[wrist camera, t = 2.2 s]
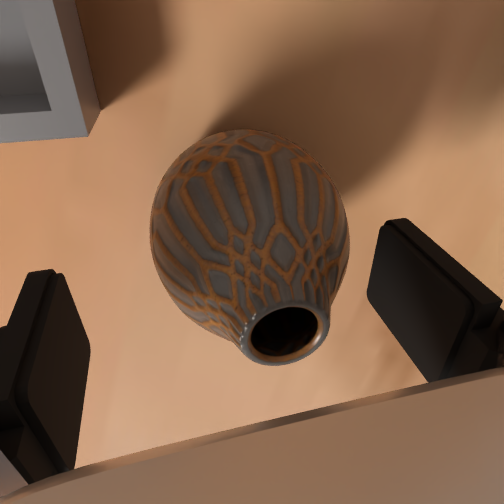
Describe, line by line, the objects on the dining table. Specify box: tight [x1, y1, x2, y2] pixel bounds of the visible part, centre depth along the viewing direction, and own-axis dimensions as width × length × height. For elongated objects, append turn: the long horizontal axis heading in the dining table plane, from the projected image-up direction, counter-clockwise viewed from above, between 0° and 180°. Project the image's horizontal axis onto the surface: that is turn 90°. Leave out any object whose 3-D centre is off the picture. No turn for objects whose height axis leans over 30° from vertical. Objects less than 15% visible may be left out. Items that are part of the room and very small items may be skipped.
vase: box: [150, 129, 350, 366], centre depth 13 cm, size 7×7×9 cm
